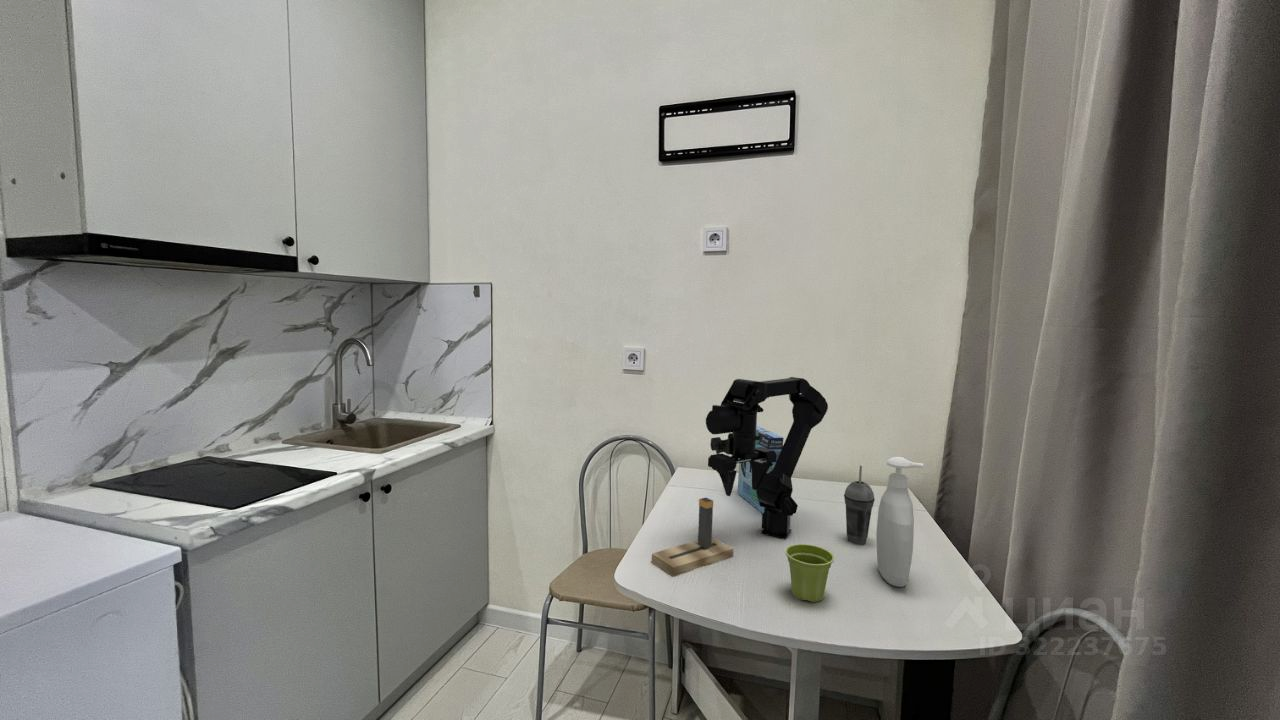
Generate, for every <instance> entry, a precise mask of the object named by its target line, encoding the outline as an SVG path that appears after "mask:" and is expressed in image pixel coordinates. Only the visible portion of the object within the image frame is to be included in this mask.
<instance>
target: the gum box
mask: <svg viewBox="0 0 1280 720" xmlns="http://www.w3.org/2000/svg"><path fill="white" fill-rule="evenodd" d="M756 435H758V436H760V439H759V440H756V446H755V448H757V447H763V448H767V449H770V450H774V451H775V453H776V455H777V458H776V461H777V459H778V457H779V454H780V452H781V450H782V447H783V445H784V439H785V438H784V437H783V436H781V435H779V434H777V433H774V432H773V431H770V430H768V429H766V428H763V427H762V426H759V425H758V424H757V425H756ZM775 464H776V462H773V466H771V467H770V468H769V470H768V471H767V473H769V472H770V471H772V470H773V468H774V466H775ZM737 478H738V481H737V493H739V495H740V496H741V497H742V498H743V499H744V498H745V499H744V500H746V501H747V502H748V503H749V502H750V503H749V504H751V505H752V506H753V507H754V508H755V507H756V508H755V509H756V510H758V511H759V512H760V513H761V512H762V513H761V514H763V513H764V509H765V508H764V507H761V506H760V505H759V501H758V498H757V494H756V490H753V489H752V467H751V465H750V463H749V461H748V462H743V463H738V477H737Z"/></svg>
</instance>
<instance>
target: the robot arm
mask: <svg viewBox="0 0 1280 720" xmlns="http://www.w3.org/2000/svg"><path fill="white" fill-rule="evenodd" d="M779 396H788V398H789V401H790V402H791V403H792V405H793V406H792V410H791V413H792V419H793V422H792V424H791V427H790V429H789V431H788V434H787V436H786V438H785V441H784V442H783V447H782V450H781V452H780V454H779V457H778V459H777V461H776V458H777V455H776V453H775V451H774V450H770V449H767V448H763V447H757V448H755V446H756V440H759V439H760V436H758V435H756V425H757V426H758V423H757V421H758V420H757V419H758V413H763V412H764V408H763V407H761V406H760V403H763V402H765V401H766V400H767V399H769V398H773V397H779ZM828 408H829V405H828V402H827V400H826V398H825V397H824V396H823V395H822V393H821V392H820V391H818V390H817V389H816V388H815V387H813V386H812V385H811V384H810V383H809V381H808V380H807V379H805V378H802V377H794V376H791V377H787V378H779V379H771V380H763V381H758V380H750V379H744V378H743V379H742V378H736V379H734V380H733V381H732V383H731V385H730V386H729V389H728V390H727V392H726V394H725V396H724V398H723V400H722V401H721V402H720V405H718V404H712V407H711V409H712V410H710V411H709V412H708V413H707V416H706V417H705V427H706V429H707V431H709V433H710V434H712V435H721V434H728V435H727V439H722V438H721V437H720V436H716V437H711V438H710V443H709V444H710V449H711V451H712V452H713V451H714V452H715V454H711V455H709V456H708V459H707V467H709V468H711V469H712V470H714V471H716V472H717V474H718V475H719V478H720V479H721V482H722V487H723V489H724V493H725V495H726V496H727V497H731V496H732V495H731V494H732V492H733V489H734V484H735V481H736V477H737V476H736V475H737V473H738V471H737V470H735V469H736V468H737V464H739V463H743V462H748V461H749V463H750V465H751V467H752V489H753V490H756V494H757V498H758V501H759V505H760V506H761V507H764V508H765V509H764V513H761V529H762V530H761V531H760V532H761V533H760V534H762V535H767V536H771V537H776V538H779V539H784V540H785V539H787V538H788V537H789V535H790V534H791V532H792V528H791V517H793V516H794V514H796V513H797V510H798V507H799V505H798V504H797V502H796V500H794V499H793V498H792V494H793V483H792V477H793V474H794V472H795V469H796V467H797V464H798V462H799V459H800V457H801V455H802V452H803V450H804V448H805V445H806V443H807V440H808V438H809V436H810V433H811V431H812V429H813V428H815V427H816V426H818V425H819V424H820V423H821V422H822V421H823V419H824V417H825V415H826V414H827V412H828V410H829V409H828ZM730 455H731V456H730ZM773 462H776V464H775V466H774V468H773V470H772V471H770V472H769V473H767V471H768V470H769V468H770V467H771V466H773Z"/></svg>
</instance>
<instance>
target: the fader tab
mask: <svg viewBox="0 0 1280 720" xmlns="http://www.w3.org/2000/svg"><path fill="white" fill-rule="evenodd" d="M698 507H699V508H698V532H697V533H698V534H697V536H698V537H697V540H698V545H700V546H702V547H703V548H708V547H711V544H712V538H713V516H714V515H713V514H714V513H713V512H714V511H713V510H714V500H713V499H710V498H709V497H702V498H699V499H698Z"/></svg>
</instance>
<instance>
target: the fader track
mask: <svg viewBox="0 0 1280 720" xmlns="http://www.w3.org/2000/svg"><path fill="white" fill-rule="evenodd" d="M733 557H734V547H731V546H730V545H728V544H726V543H723V542H722V541H720V540H718V539H716V538H714V537H712V544H711V547H708V548H703V547H702V546H700V545H698V539H697V540H694V541H689V542H687V543H682V544H680V545H677V546H672V547H670V548H666V549H663V550H659V551H656V552H653V553H651V563H652V564H654V565H655V566H657V567H658V568H660V570H661V569H662V570H663V571H664V572H666V573H667V574H669V575H670V576H672V577H676V576H678V575H679V576H680V575H682V574H686V573H688V571H689V572H692V571H694V569H695V570H697V568H698V569H701V568H703V566H704V567H707V566H709V565H712V563H713V564H715V563H719V562H721V560H722V561H724V560H727V559H730V558H733ZM718 561H719V562H718ZM706 565H707V566H706ZM700 567H701V568H700ZM691 570H692V571H691Z"/></svg>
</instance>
